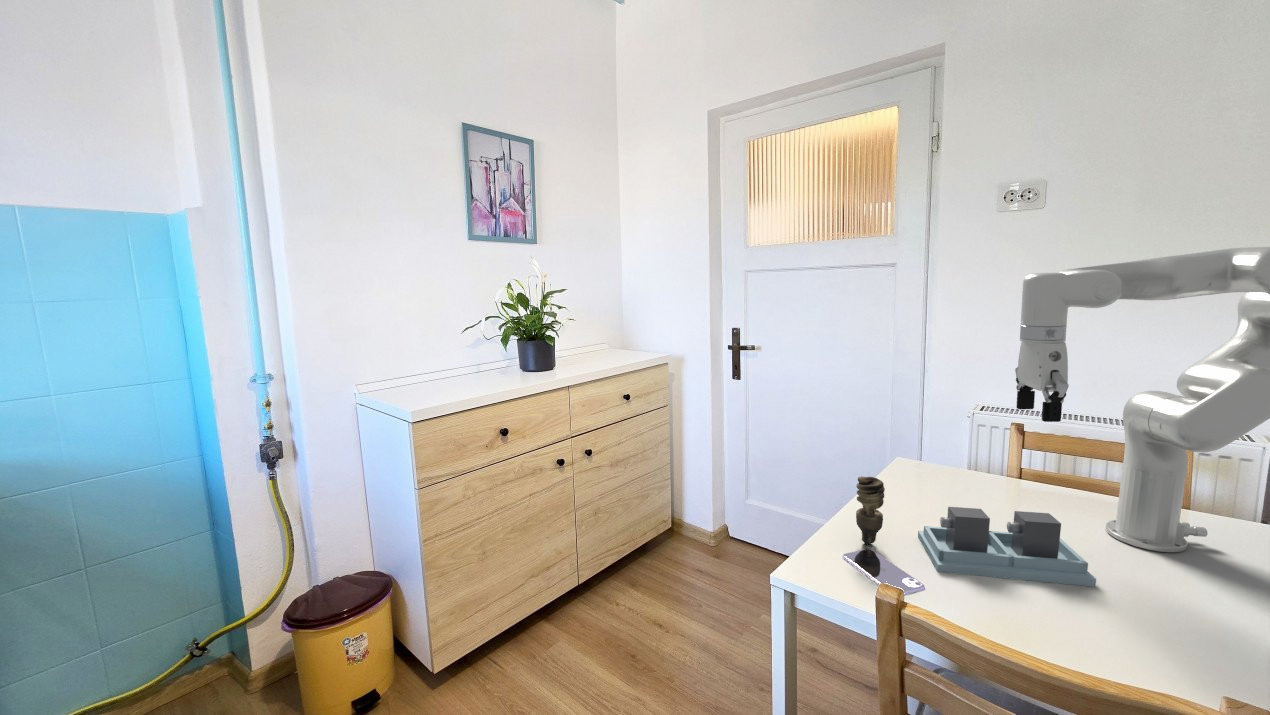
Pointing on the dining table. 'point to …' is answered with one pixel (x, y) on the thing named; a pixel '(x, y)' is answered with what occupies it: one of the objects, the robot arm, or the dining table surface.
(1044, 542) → the plug block
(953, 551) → the tray
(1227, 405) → the robot arm
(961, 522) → the docked twin block
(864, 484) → the light bulb
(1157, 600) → the dining table surface
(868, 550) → the mobile phone
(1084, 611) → the dining table surface
